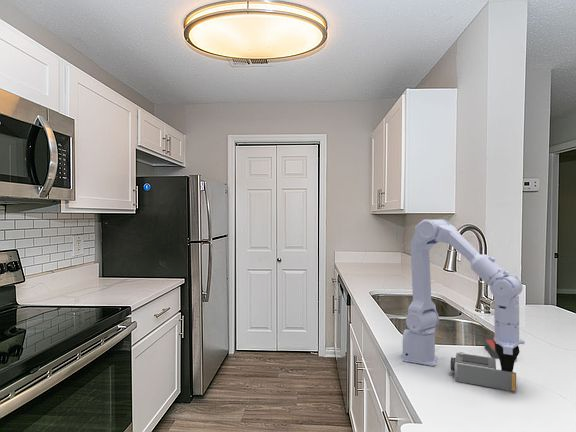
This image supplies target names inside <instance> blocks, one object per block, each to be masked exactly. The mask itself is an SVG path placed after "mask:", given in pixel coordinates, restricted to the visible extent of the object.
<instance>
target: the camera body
mask: <svg viewBox="0 0 576 432" xmlns="http://www.w3.org/2000/svg"><path fill="white" fill-rule="evenodd" d="M455 363H459V364H465V365H471V366H478V367H484V368H490V369H497V359H496V358H492V357H491V356H490V357H489V356H482V355H476V354H469V353H465V352H462V351H459V352H456V354H455V357H453V356H452V357H450V371H451V372H455Z"/></svg>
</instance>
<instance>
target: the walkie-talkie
mask: <svg viewBox="0 0 576 432" xmlns="http://www.w3.org/2000/svg"><path fill="white" fill-rule="evenodd" d="M495 344H498V343H496V342H495V341H494V336H493V337H491V339H485V340H484V349H485V350H486V351H487V353H488V354H489V355H490V358H496V360H499V356H498V354H497V352H496V350H495ZM517 359H518V357H517V358H516V360H517Z"/></svg>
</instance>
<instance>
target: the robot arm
mask: <svg viewBox="0 0 576 432" xmlns="http://www.w3.org/2000/svg"><path fill="white" fill-rule="evenodd" d="M438 243H444V244H449V245H450V246H451V247H452V248H454V249H455V250H456V251H457V252H458V253H459V254H460V255H462V256H463V257H464V258H465V259H466V260H467V261H468V262H470V269H471V270H472V271H473V272H474V273H475V274H476V275H477V276H478V277H479V278H480V279H482V281H483V282H484V283H486V284H487V286H489V289H490V292H491V295H493V297H494V304H493V305H494V307H493V308H494V311H493V313H494V318H493V320H494V321H493V322H494V323H493V324H494V331H493V332H494V333H493V334H494V336H493V337H494V341H495V342H496V343H498V344H495V350H496V352H497V354H498V356H499V359H498V360H499V363H500V370H503V371H509V372H514V366H515V363H516V360H517V359H518V356H519V355H520V352H521V351H520V347H519V346H520V345H525V344H526V343H525V342H526V341H525V340H524V339H522V338H521V339H520V296H519V295H520V294H521V293H522V291H523V284H522V282H521V280H520V279H519V278H518V276H516V275H514V274H510V272H509V271H508V270H506V269H505V270H504V269H503V267H501V266H500V265H499V264H498V263H497V262H496V258H495V257H494V256H492V255H491V256H489V255H488V254H481V253H480V252H479V251H478V250H477V249H475V247H474V246H473V245H472V244H471V243H470V242H469V241H468V240H466V238H465V237H464V236H463V235H461V233H460V232H459V231H458V230H457V228H456V227H455V225H453V224H450V222H449V221H448V220H446V219H443V218H439V219H430V218H429V219H428V218H426V219H422V220H420V221H419V223H418V224H416V225H415V226H414V234H413V236H412V239H411V241H410V263H411V285H412V287H411V289H412V301H411V303H410V304H409V306H408V307H407V315H406V317H405V324H406V326H407V328H408V329H404V330H403V333H402V359H401V361H402V362H406V363H407V362H408V363H413V364H420V365H424V366H425V365H426V366H432V367H434V366H436V363H437V361H438V356H436V327H437V326H438V325H439V323H440V317H439V313H438V312H437V307H436V306H437V305H436V304H435V302H434V301H432V289H431V287H432V286H431V284H432V283H431V264H430V261H431V260H430V249H431V248H433V247H434V246H435V245H436V244H438ZM516 358H517V359H516Z"/></svg>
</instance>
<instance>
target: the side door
mask: <svg viewBox="0 0 576 432" xmlns="http://www.w3.org/2000/svg"><path fill="white" fill-rule="evenodd" d="M454 382H460V383H466V384H472V385H478V386H482V387H487V388H488V387H489V388H494V389H501V390H504V391H505V390H506V391H510V392H511V391H512V392H517V372H515V371H513V372H509V371H503V370H501V369H497V368H496V369H490V368H484V367H478V366H471V365H465V364H459V363H455V371H454Z"/></svg>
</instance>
